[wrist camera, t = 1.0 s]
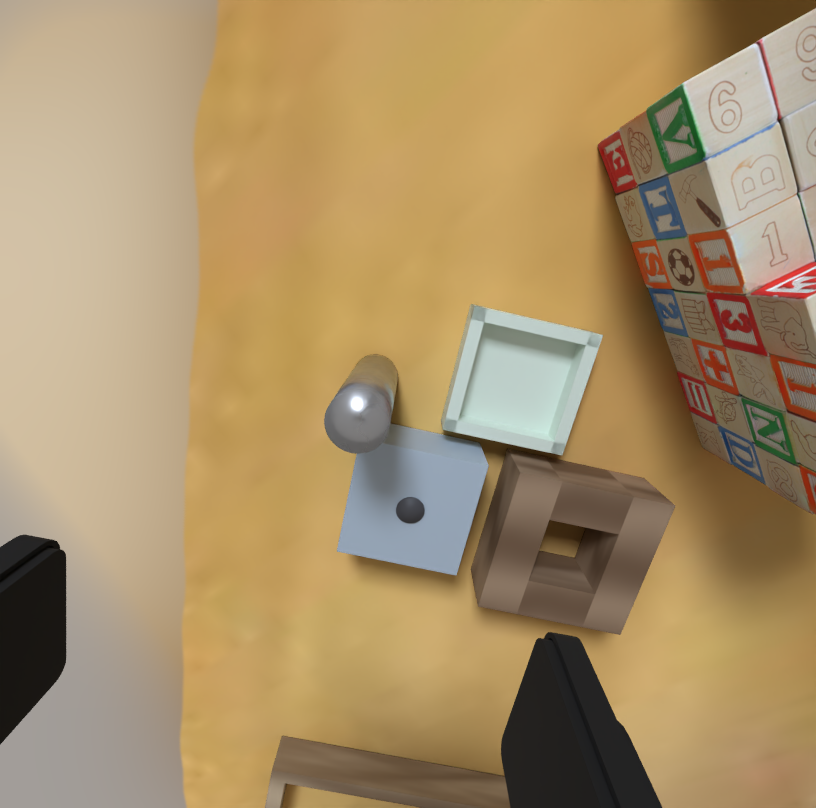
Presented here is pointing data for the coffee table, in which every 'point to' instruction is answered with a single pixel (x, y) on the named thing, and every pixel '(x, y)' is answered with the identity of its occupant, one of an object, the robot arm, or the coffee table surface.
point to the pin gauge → (363, 406)
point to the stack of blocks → (735, 249)
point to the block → (414, 500)
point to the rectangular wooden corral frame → (381, 777)
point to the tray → (518, 379)
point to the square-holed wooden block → (597, 554)
